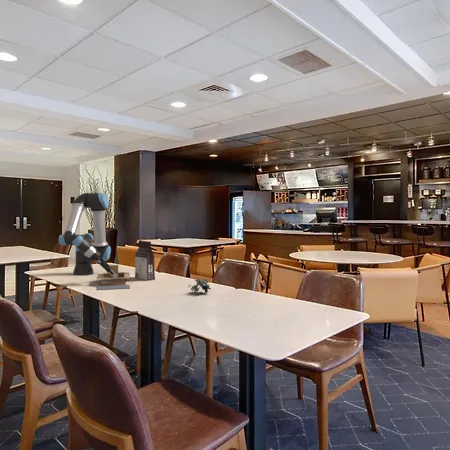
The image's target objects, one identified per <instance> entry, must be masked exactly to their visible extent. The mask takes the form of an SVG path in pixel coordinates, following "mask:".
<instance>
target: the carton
mask: <svg viewBox="0 0 450 450" xmlns="http://www.w3.org/2000/svg"><path fill="white" fill-rule="evenodd" d="M130 278H131V275H130V272H124V271H122V272H119V271H118V278H109V273H107V272H102V273H97V276H96V280H101V281H100V282H101V285H100V286H112V285H127V284H126V283H127V281H126V280H127V279H130Z"/></svg>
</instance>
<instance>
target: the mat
mask: <svg viewBox="0 0 450 450" xmlns="http://www.w3.org/2000/svg"><path fill="white" fill-rule="evenodd" d="M126 289H127V290H128V289H129V290H130V289H131V286H130V284H126V285H112V286H101V285H97V288H96V290H97V291H108V290H109V291H110V290H111V291H112V290H126Z"/></svg>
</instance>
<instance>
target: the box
mask: <svg viewBox="0 0 450 450" xmlns="http://www.w3.org/2000/svg"><path fill="white" fill-rule="evenodd" d="M108 265H109V268H110V269H111V270H112V271H114V272H115V273H116V274H117V275H118V273H119V265H118V264H108ZM109 278H114V277H113V276H112V275H111V274H109ZM117 278H118V277H117Z"/></svg>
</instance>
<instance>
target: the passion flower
mask: <svg viewBox="0 0 450 450" xmlns="http://www.w3.org/2000/svg"><path fill="white" fill-rule="evenodd" d="M194 281H195V282H196V284H194V285H191V284H188V287H191V288H190V291H191V292H193V291H194V292H195V294H194V295H196V294H197V293H198V291H200V288H201V289H202V291H204V293H206V294H207V293H209V290H210V291H211V290H212V288H211V287H210V285H209V280H208V279H206V278H203V279H202V278H199V277H197V279H194ZM198 286H199V287H198Z"/></svg>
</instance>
